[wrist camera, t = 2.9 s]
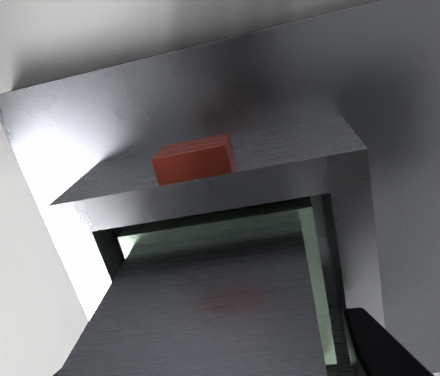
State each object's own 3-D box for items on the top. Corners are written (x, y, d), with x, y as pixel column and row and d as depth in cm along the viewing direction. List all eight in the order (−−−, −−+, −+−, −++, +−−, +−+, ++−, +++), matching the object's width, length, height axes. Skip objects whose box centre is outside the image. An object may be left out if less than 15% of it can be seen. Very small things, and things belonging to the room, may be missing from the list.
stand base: (436, 349, 14) (495, 462, 11) (130, 375, 16) (91, 477, 13) (423, -11, 10) (517, -30, 6) (10, 91, 12) (-101, 121, 8)
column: (323, 298, 13) (396, 644, 6) (186, 314, 13) (102, 631, 6) (301, 166, 11) (365, 422, 4) (147, 193, 12) (-24, 443, 5)
